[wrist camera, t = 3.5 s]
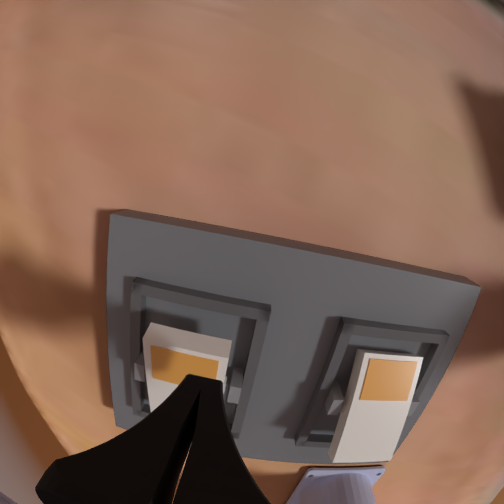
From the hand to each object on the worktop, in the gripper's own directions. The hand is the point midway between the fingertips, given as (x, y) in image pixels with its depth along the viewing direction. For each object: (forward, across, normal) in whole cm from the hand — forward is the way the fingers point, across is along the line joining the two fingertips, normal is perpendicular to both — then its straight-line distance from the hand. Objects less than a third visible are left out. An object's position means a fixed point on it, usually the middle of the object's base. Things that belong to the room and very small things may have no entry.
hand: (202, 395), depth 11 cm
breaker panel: (+8, -4, +3) cm, 9 cm away
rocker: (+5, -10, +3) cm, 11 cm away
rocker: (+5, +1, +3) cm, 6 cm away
